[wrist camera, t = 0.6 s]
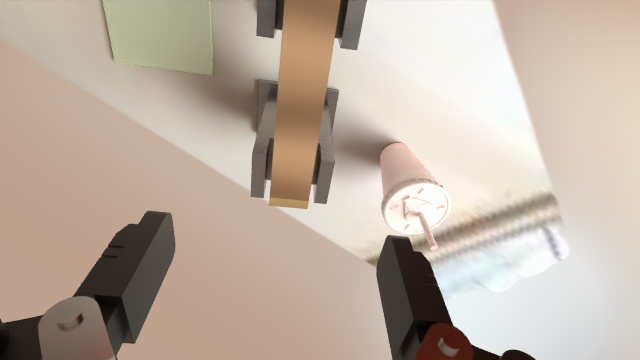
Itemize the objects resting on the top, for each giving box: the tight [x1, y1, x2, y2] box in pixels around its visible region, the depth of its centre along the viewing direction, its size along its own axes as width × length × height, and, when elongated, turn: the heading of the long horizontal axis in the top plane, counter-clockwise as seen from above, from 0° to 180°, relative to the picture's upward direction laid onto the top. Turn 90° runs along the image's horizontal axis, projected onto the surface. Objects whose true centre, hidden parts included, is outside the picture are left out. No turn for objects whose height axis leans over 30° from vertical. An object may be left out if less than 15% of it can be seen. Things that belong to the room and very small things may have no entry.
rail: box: [269, 0, 341, 209], centre depth 23 cm, size 17×3×3 cm, turn 172°
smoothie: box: [380, 143, 451, 250], centre depth 34 cm, size 6×6×14 cm
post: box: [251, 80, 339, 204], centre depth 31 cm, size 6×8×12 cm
